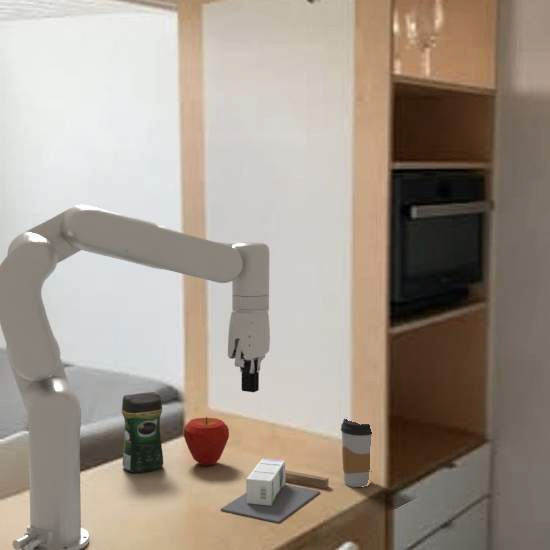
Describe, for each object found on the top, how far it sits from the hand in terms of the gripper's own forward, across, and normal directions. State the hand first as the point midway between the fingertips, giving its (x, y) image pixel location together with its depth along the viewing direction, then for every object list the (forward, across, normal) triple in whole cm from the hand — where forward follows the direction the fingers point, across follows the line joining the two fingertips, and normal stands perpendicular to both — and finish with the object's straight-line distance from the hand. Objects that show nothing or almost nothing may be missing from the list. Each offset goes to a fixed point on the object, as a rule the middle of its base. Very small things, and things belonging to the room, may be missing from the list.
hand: (250, 390), depth 182 cm
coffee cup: (+27, -30, +12) cm, 42 cm away
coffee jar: (+27, -14, -38) cm, 49 cm away
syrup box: (+24, -6, -1) cm, 24 cm away
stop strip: (+27, -24, 0) cm, 36 cm away
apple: (+27, -24, -26) cm, 45 cm away
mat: (+27, -10, 0) cm, 29 cm away
